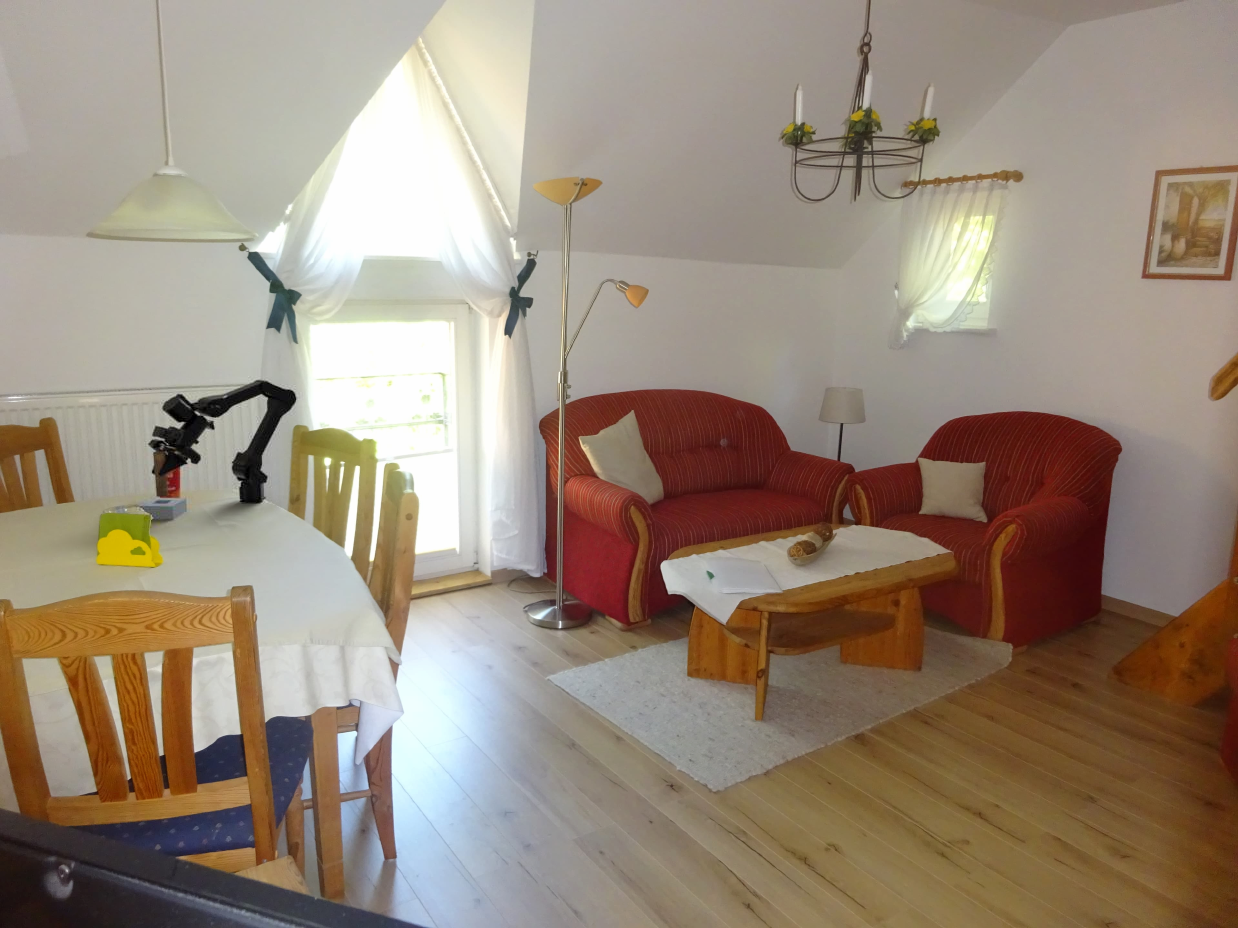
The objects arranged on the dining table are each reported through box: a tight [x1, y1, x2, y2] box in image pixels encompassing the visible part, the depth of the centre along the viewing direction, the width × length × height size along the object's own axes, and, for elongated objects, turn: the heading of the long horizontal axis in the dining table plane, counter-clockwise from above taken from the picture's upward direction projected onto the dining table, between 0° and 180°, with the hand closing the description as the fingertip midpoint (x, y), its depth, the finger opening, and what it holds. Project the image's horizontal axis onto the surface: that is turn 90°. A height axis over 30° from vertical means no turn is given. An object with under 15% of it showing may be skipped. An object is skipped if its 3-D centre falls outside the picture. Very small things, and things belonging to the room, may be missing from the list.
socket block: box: [136, 497, 188, 521], centre depth 251 cm, size 10×10×4 cm
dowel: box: [152, 451, 168, 498], centre depth 246 cm, size 3×3×13 cm
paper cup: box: [159, 467, 181, 498], centre depth 267 cm, size 8×8×14 cm
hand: (156, 474), depth 245 cm, fingers closed on dowel, 3 cm apart
